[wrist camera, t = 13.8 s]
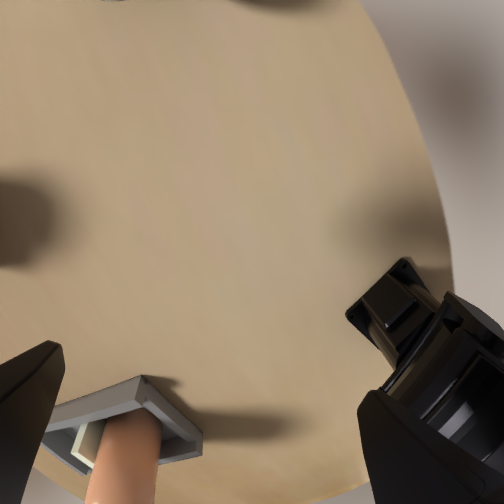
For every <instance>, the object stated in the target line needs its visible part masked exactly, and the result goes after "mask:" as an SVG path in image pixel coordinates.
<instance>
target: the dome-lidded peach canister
mask: <svg viewBox="0 0 504 504" xmlns="http://www.w3.org/2000/svg"><path fill="white" fill-rule="evenodd" d="M162 433H163V424H162V422H161V421H160V419H159V418H157V417H156V416H155V415H154V414H153V413H151V412H149V411H148V410H145V409H143V408H138V409H134V410H131V411H128V412H124V413H121V414H118V415H114V416H111V417H108V419H107V422H106V425H105V429H104V432H103V435H102V439H101V442H100V446H99V449H98V453H97V456H96V460H95V463H94V467H93V471H92V475H91V479H90V483H89V487H88V491H87V495H86V499H85V504H154V498H155V489H156V480H157V471H158V463H159V455H160V447H161V440H162Z"/></svg>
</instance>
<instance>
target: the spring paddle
mask: <svg viewBox="0 0 504 504" xmlns="http://www.w3.org/2000/svg"><path fill="white" fill-rule="evenodd" d="M106 422H107V421H106V420H105V419H100V420H96V421H92V422H88V423H84V424H81V425H80V428H79V431H78V434H77V436H76V439H75V442H74V445H73V448H72V451H71V454H72V455H74V456H75V457H76V458H78V459H79V460H81V461H82V462H83V463H85V464H86V465H88V466H89V467H91V468H92V469H93V467H94V463H95V460H96V456H97V453H98V449H99V446H100V442H101V439H102V435H103V432H104V429H105V425H106Z"/></svg>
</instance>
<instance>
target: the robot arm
mask: <svg viewBox="0 0 504 504" xmlns="http://www.w3.org/2000/svg"><path fill="white" fill-rule="evenodd" d="M403 264H404V266H403V267H402V265H403ZM352 313H354V314H353V315H352V316H350V315H351V314H352ZM345 316H346V318H347V319H348V321H349V322H350V323H351V324H352V325H354V326H355V327H356V328H357V329H358V330H359V331H360V332H361V333H362V334H363V335H364V336H365V337H366V338H367V339H368V340H369V341H370V342H372V343H373V344H374V345H375V346H376V347H377V348H378V349H379V350H380V351H381V352H382V353H383V355H384V356H385V358H386V359H387V361H388V362H389V364H390V365H391V367H392V368H393V370H394V372H393V373H392V374H391V376H390V377H389V378H388V379H387V381H386V382H385V383H384V384H383V386H382V387H379V388H378V390H370V391H369V392H368V393H367V394H366V396H365V398H364V399H363V401H362V402H361V404H360V405H359V407H358V409H357V417H358V423H359V430H360V436H361V443H362V449H363V454H364V459H365V463H366V467H367V471H368V475H369V479H370V483H371V487H372V491H373V495H374V499H375V504H504V330H503V329H502V328H501V327H500V325H499V324H498V323H497V322H495V321H494V320H493V319H492V318H491V317H489V316H488V315H487V314H486V313H484V312H483V311H482V310H480V309H479V308H477V307H476V306H474V305H472V304H470V303H469V302H467V301H465V300H464V299H462V298H460V297H458V296H457V295H455V294H453V293H451V292H449V291H447V293H446V294H445V296H444V300H443V302H442V304H441V303H440V302H438V301H437V300H436V299H435V298H434V297H433V296H432V295H431V294H430V293H429V291H428V289H427V288H426V286H425V285H424V283H423V282H422V280H421V279H420V277H419V276H418V274H417V273H416V271H415V270H414V269H413V267H412V266H411V264H410V263H409V262H408V261H407V260H406V259H405V258H402V259H400V260H398V262H397V263H396V264H395V265H394V266H393V267H392V268H391V269H390V270H389V271H388V272H387V273H386V274H385V275H384V276H383V277H382V278H381V279H380V280H379V281H378V282H377V283H376V284H375V285H374V286H372V287H371V288H370V289H369V290H368V291H367V292H366V293H365V294H364V295H363V296H362V297H361V298H360V299H359V300H358V301H357V302H356V303H355V304H354V305H352V306H351V307H350V308H349V309H348V310H347V311H346V313H345ZM64 373H65V361H64V355H63V349H62V346H61V344H59V343H56V342H53V341H50V340H47V341H45V342H43V343H41V344H39V345H37V346H35V347H33V348H32V349H30V350H28V351H26V352H24V353H22V354H20V355H18V356H16V357H14V358H12V359H10V360H9V361H7V362H5V363H3V364H1V365H0V504H21V500H22V497H23V493H24V490H25V487H26V484H27V480H28V478H29V474H30V472H31V469H32V466H33V463H34V460H35V457H36V454H37V452H38V449H39V446H40V444H41V441H42V438H43V436H44V433H45V431H46V428H47V426H48V423H49V421H50V418H51V415H52V412H53V409H54V405H55V402H56V398H57V395H58V392H59V389H60V385H61V382H62V379H63V376H64Z"/></svg>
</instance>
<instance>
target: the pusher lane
mask: <svg viewBox="0 0 504 504" xmlns="http://www.w3.org/2000/svg"><path fill="white" fill-rule="evenodd" d="M138 408H143V409H145V410H148V411H149V412H151V413H153V414H154V415H155V416H156V417H157V418H159V419H160V421H161V422H162V424H163V433H162V440H161V447H160V455H159V463H158V465H161V464H166V463H171V462H176V461H181V460H185V459H190V458H194V457H198V456H202V449H203V432H202V431H201V430H200V429H198V428H197V427H196V426H195V425H194V424H193V423H191V422H190V421H189V420H188V419H187V418H186V417H185V416H183V415H182V414H181V413H180V412H179V411H178V410H177V409H176V408H175V407H174V406H172V405H171V404H170V403H169V402H168V401H167V400H166V399H165V398H164V397H163V396H162V395H161V394H160V393H159V392H158V391H157V390H156V389H155V388H154V387H153V386H152V385H151V384H150V383H149V382H148V381H147V380H146V379H145V378H144V377H143V376H142V375H139V376H137V377H134V378H132V379H129V380H126V381H124V382H121V383H119V384H116V385H113V386H111V387H108V388H105V389H103V390H100V391H97V392H94V393H91V394H89V395H86V396H83V397H80V398H77V399H74V400H71V401H68V402H65V403H62V404H59V405H56V406H54V409H53V412H52V415H51V418H50V421H49V423H48V426H47V428H46V431H45V433H44V436H43V438H42V441H41V444H40V445H41V446H42V447H43V448H45V449H46V450H47V451H48V452H50V453H51V454H52V455H54V456H55V457H56V458H58V459H59V460H60V461H62V462H63V463H64V464H66V465H67V466H69V467H70V468H71V469H73V470H74V471H76V472H77V473H79V474H80V475H82V476H84V475H87V472H88V473H92V471H93V469H92V468H91V467H89V466H88V465H86V464H85V463H83V462H82V461H81V460H79V459H78V458H76V457H75V456H74V455H72V454H71V451H72V448H73V445H74V442H75V439H76V436H77V434H78V431H79V428H80V425H81V424H84V423H88V422H92V421H96V420H100V419H105V420H106V421H107V419H108V417H111V416H114V415H118V414H121V413H124V412H128V411H131V410H134V409H138Z"/></svg>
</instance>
